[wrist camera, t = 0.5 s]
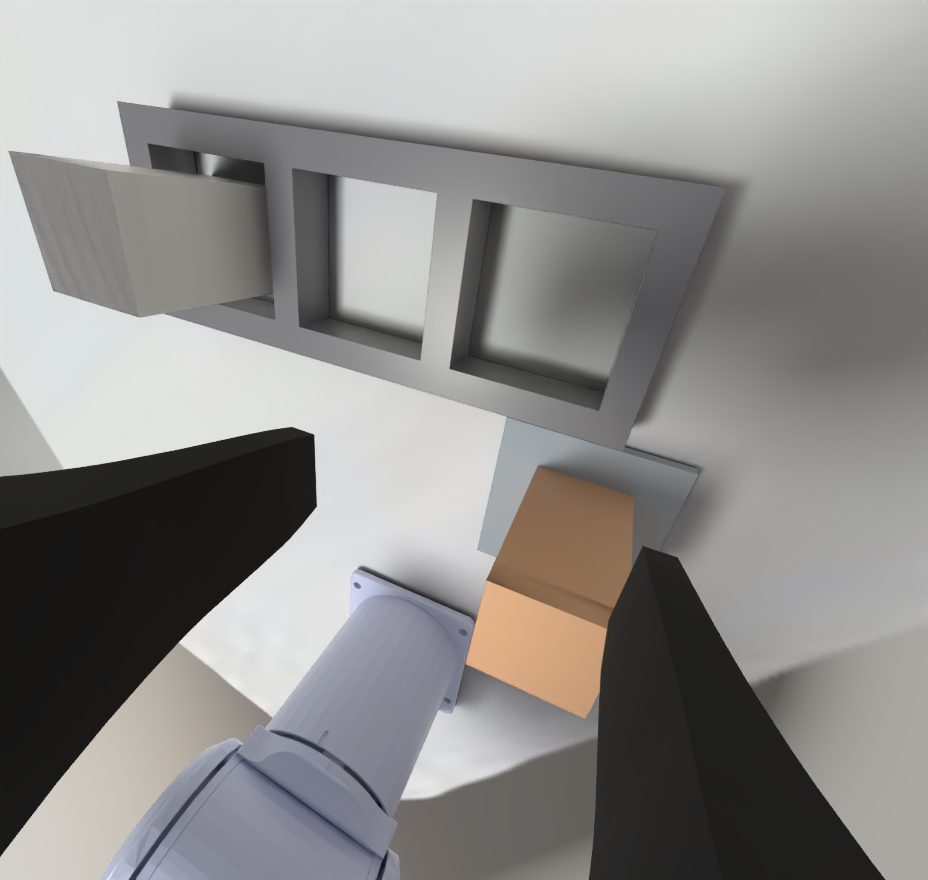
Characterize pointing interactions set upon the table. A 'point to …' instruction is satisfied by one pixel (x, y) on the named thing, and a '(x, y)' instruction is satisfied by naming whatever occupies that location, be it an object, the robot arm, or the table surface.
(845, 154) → the table surface
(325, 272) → the gray slotted rack
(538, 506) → the plug
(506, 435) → the mat
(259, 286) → the twin plug
